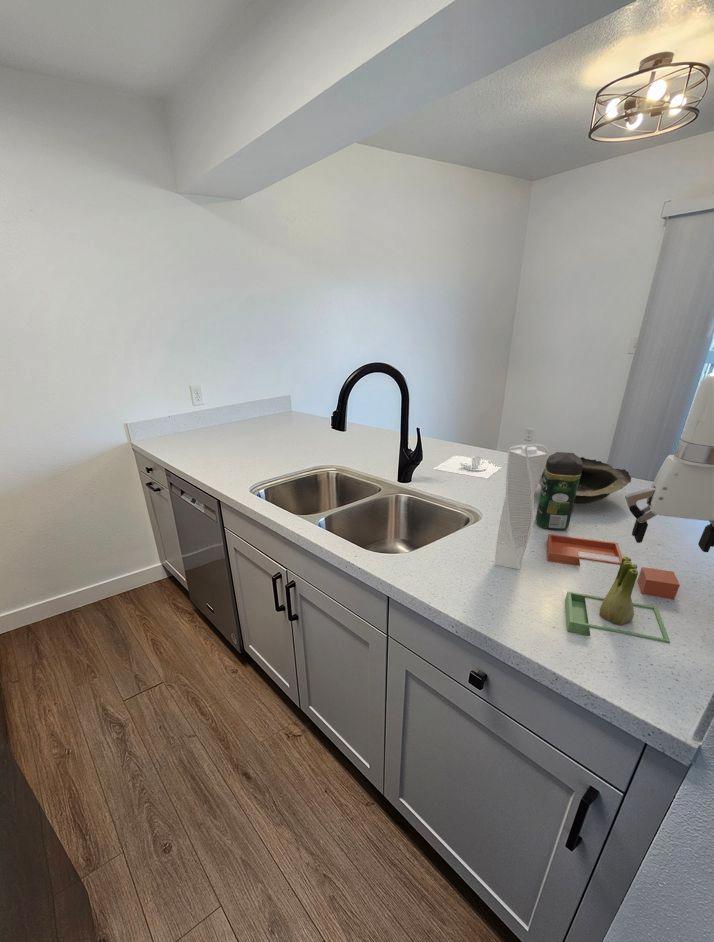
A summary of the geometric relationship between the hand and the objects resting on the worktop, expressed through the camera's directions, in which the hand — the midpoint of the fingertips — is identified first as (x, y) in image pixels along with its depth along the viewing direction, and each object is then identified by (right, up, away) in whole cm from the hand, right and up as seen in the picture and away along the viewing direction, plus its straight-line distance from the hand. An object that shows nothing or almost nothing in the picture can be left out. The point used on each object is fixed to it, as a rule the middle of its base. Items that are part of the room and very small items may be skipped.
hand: (669, 544), depth 79 cm
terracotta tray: (-3, -3, +20) cm, 21 cm away
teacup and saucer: (-6, +28, +81) cm, 86 cm away
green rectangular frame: (-11, -14, -1) cm, 18 cm away
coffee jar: (-2, +5, +36) cm, 36 cm away
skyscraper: (-20, -4, +20) cm, 29 cm away
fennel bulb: (-11, -14, -1) cm, 18 cm away
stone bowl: (+13, +13, +50) cm, 53 cm away
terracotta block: (+1, -10, +5) cm, 12 cm away
